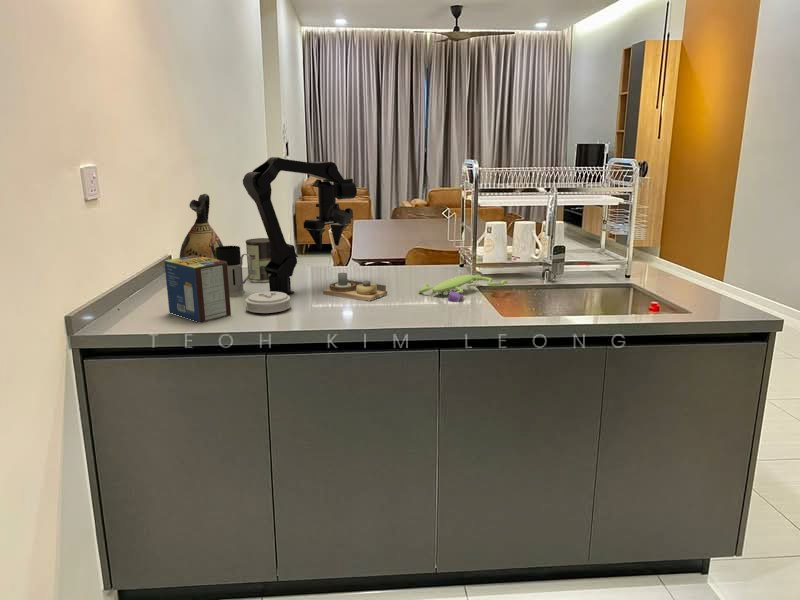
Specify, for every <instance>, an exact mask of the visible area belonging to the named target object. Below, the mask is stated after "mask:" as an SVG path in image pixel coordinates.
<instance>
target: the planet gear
mask: <svg viewBox="0 0 800 600" xmlns="http://www.w3.org/2000/svg"><path fill="white" fill-rule="evenodd" d="M347 280H348V273H347V272H338V273H337V282H338V283H337V284H335V286H336V287H349V286H351V284H350V283H348V282H347Z"/></svg>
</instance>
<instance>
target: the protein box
mask: <svg viewBox="0 0 800 600" xmlns="http://www.w3.org/2000/svg"><path fill="white" fill-rule="evenodd" d="M163 262H164V272H165V281H166V290H167V291H166V292H167V300H168V301H167V304H168V313H169V312H170V313H173V314H176V315H179V316H182V317H185V318H188V319H191V320H194V321H197V322H202V323H205V322H209V321H213V320H216V319H220V318H225V317H229V316H231V315H232V310H231V297H230V294H229V281H228V269H227V261H222V260H216V259H211V258H206V257H201V256H197V255H196V256H190V257H183V258H179V257H178V258H171V259H165V260H164V261H163ZM170 313H169V314H170ZM173 314H172V315H173ZM176 315H175V316H176ZM228 315H229V316H228ZM179 316H178V317H179ZM224 316H225V317H224ZM182 317H181V318H182ZM185 318H184V319H185ZM188 319H187V320H188ZM191 320H190V321H191ZM208 320H209V321H208ZM194 321H193V322H194ZM204 321H205V322H204ZM197 322H196V323H197Z"/></svg>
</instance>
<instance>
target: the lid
mask: <svg viewBox="0 0 800 600" xmlns="http://www.w3.org/2000/svg"><path fill="white" fill-rule="evenodd" d="M290 300H291V297H290V295H289V294H288V295H287V294H286V293H283V292H270V291H261V292H256V293H252V294H250V295H248V296H247V297H246V298H245V302H246V307H245V308H246V310H247V311H249V312H251V313H255V314H256V313H258V314H269V313H272V314H273V313H278V312H283V311H287V310H288V309H290V308H291V304H290Z"/></svg>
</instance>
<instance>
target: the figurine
mask: <svg viewBox="0 0 800 600" xmlns="http://www.w3.org/2000/svg"><path fill="white" fill-rule="evenodd" d="M474 281H475V282H474ZM479 281H486V282H487V285H488V286H490V287H502V286H504V285H505V284H506V285H507V284H509V281H508V280H507V279H504V280H503V279H502V280H501V281H500V282H493V278H492V277H488V276H481V274H475V275H473V274H464V275H463V274H462V275H459V276H456V277H452V278H449V279H446V280H444V281H442V282H440V283H438V284H436V285H435V286H433V287H432V286H429V284H426V285H424V286H423V287H422V288H421V289H419V290H418V293H419V294H420V293H421V294H423V293H424V292H425V293H426V292H427V291H429V290H431V291H432V292H434V293H437V294H438V295H440V294H441V295H442V294H443V296H445V297H447V296H448V297H447V300H448V301H450V302H460V301H462V300H463V297H464V294H463V293H464V290H463V289H462V288H460V287H462V286H464V285H467V284H469V285H471V284H472V283H474V285H476V284H477V283H478V282H479ZM455 290H456V291H455Z"/></svg>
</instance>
